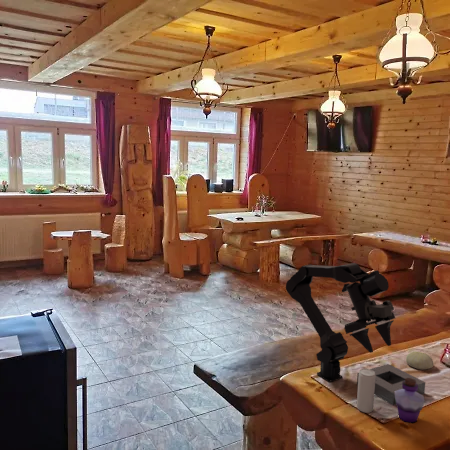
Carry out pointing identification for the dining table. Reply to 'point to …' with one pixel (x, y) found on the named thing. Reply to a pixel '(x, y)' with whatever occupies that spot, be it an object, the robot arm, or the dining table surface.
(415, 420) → the potion bottle
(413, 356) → the sea urchin shell
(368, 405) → the beverage can
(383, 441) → the dining table surface
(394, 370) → the block
